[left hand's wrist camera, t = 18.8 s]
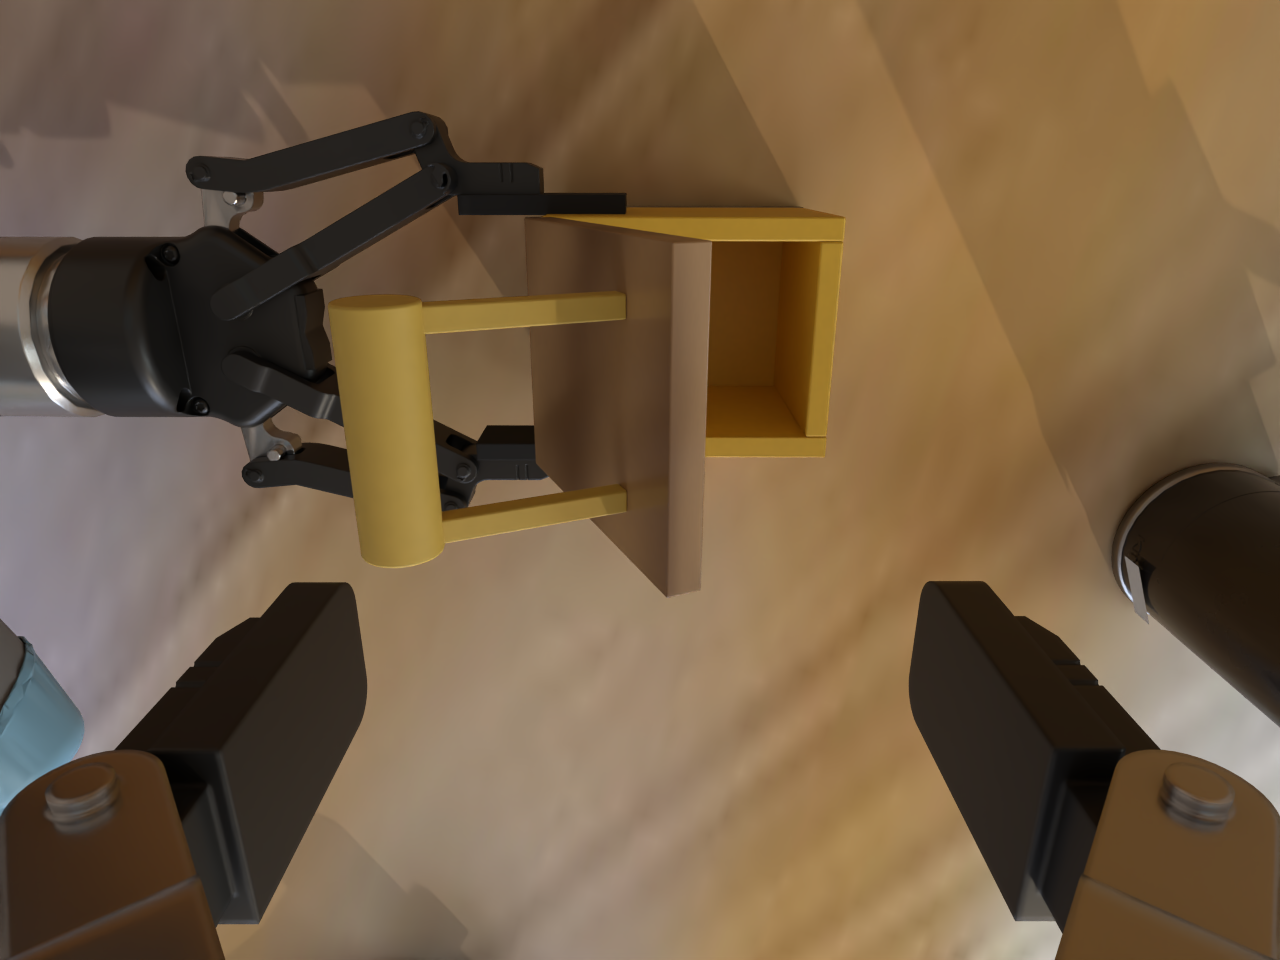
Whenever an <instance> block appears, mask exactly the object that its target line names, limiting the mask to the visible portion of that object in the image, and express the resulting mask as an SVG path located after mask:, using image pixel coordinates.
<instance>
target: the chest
mask: <svg viewBox="0 0 1280 960" xmlns="http://www.w3.org/2000/svg"><path fill="white" fill-rule="evenodd" d="M542 217H556V218H562V219H569V220H576V221H583V222H589V223H596V224H603V225H610V226H616V227H623V228H630V229H637V230H643V231H650V232H657V233H664V234H670V235H677V236H684V237H691V238H697V239H704V240H710V241H712V258H711V289H710V319H709V350H708V381H707V411H706V442H705V457H825V449H826V434H827V423H828V412H829V400H830V389H831V378H832V367H833V355H834V344H835V333H836V321H837V310H838V299H839V288H840V276H841V265H842V254H843V242H841V241H843V240H844V232H845V221H846V219H845V217H842V216H837V215H833V214H828V213H824V212H819V211H814V210H810V209H805V208H803V207H673V206H626V214H547V215H544V216H542Z"/></svg>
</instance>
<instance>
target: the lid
mask: <svg viewBox="0 0 1280 960" xmlns="http://www.w3.org/2000/svg"><path fill="white" fill-rule="evenodd" d="M524 220H525V241H526V262H527V284H528V296H518V297H501V298H484V299H467V300H450V301H433V302H422V301H421V299H419V298H417V297H413V296H407V295H362V296H352V297H345V298H340V299H336V300H333V301H331V302H329V304H328V312H329V320H330V327H331V335H332V342H333V349H334V357H335V364H336V372H337V379H338V386H339V394H340V401H341V409H342V416H343V424H344V431H345V438H346V446H347V453H348V461H349V468H350V475H351V483H352V490H353V498H354V505H355V513H356V520H357V527H358V535H359V542H360V550H361V556H362V558H363V559H364V560H365V561H366V562H367V563H369V564H371V565H373V566H377V567H383V568H403V567H410V566H415V565H419V564H422V563H425V562H427V561H430V560H432V559H434V558H435V557H437V556H438V555H439V554H440V553H441V552H442V551H443V549H444V546H445V543H450V542H456V541H462V540H467V539H473V538H479V537H485V536H491V535H496V534H502V533H508V532H514V531H519V530H525V529H531V528H537V527H542V526H548V525H554V524H560V523H565V522H571V521H577V520H583V519H588V518H590V519H591V520H592V521H593V522H594V523H595V524H596V525H597V526H598V528H599V529H600V530H601V531H602V532H603V533H604V534H605V535H606V536H607V537H608V538H609V539H610V540H611V541H612V542H613V543H614V544H615V545H616V546H617V547H618V548H619V549H620V550H621V551H622V552H623V553H624V554H625V555H626V556H627V557H628V558H629V559H630V560H631V561H632V562H633V563H634V564H635V566H636V567H637V568H638V569H639V570H640V571H641V572H642V573H643V574H644V575H645V576H646V577H647V578H648V579H649V580H650V581H651V582H652V583H653V584H654V585H655V586H656V587H657V588H658V589H659V590H660V591H661V592H662V593H663V594H664V595H665V596H666V597H667V598H669V597H674V596H678V595H683V594H687V593H692V592H696V591H700V590H701V565H702V534H703V504H704V473H705V442H706V411H707V381H708V350H709V319H710V289H711V258H712V241H710V240H704V239H697V238H691V237H684V236H677V235H670V234H664V233H657V232H650V231H643V230H637V229H630V228H623V227H616V226H610V225H603V224H596V223H589V222H583V221H576V220H569V219H562V218H556V217H526V218H525V219H524ZM517 327H530V348H531V369H532V390H533V412H534V433H535V454H536V464H537V465H538V466H539V467H540V468H541V469H542V470H543V471H544V472H545V473H546V474H547V475H548V476H549V477H550V478H551V479H552V480H553V481H554V482H555V483H556V484H557V485H558V486H559V487H560V488H561V489H562V491H563V493H556V494H550V495H544V496H537V497H531V498H525V499H518V500H512V501H506V502H499V503H493V504H487V505H480V506H474V507H468V508H462V509H455V510H449V511H443V512H442V510H441V499H440V488H439V478H438V467H437V456H436V445H435V435H434V424H433V413H432V403H431V392H430V381H429V370H428V360H427V349H426V338H425V334H435V333H449V332H462V331H476V330H489V329H503V328H517Z"/></svg>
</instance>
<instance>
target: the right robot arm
mask: <svg viewBox="0 0 1280 960" xmlns="http://www.w3.org/2000/svg"><path fill="white" fill-rule="evenodd" d="M413 154H416V156H417V158H418V161H419V163H420V165H421V168H422V170H421V171H419V172H418V173H416V174H414V175H413V176H411V177H409V178H408V179H406V180H404V181H403V182H401V183H399V184H398V185H396V186H394V187H393V188H391V189H389V190H388V191H386V192H384V193H383V194H381V195H380V196H378V197H376V198H375V199H373V200H371V201H370V202H368V203H366V204H365V205H363V206H361V207H360V208H358V209H356V210H355V211H353V212H351V213H350V214H348V215H346V216H345V217H343V218H341V219H340V220H338V221H337V222H335V223H333V224H332V225H330V226H328V227H327V228H325V229H323V230H322V231H320V232H318V233H317V234H315V235H313V236H312V237H310V238H308V239H307V240H305V241H303V242H302V243H300V244H297V245H295V246H293V247H291V248H289V249H287V250H285V251H284V252H282V253H280V254H279V253H277V252H276V251H274V250H273V249H271V248H270V247H268V246H267V245H265V244H264V243H262V242H261V241H259V240H258V239H256V238H255V237H254V236H252V235H251V234H249V233H248V232H246V231H245V230H243V229H241V228H239V224H240V219H241V217H242V216H243V215H244V214H246V213H247V212H252V211H256V210H258V209H259V208H260V207H261V206H262V204H263V199H264V196H263V192H272V191H284V190H288V189H293V188H297V187H300V186H304V185H307V184H311V183H314V182H318V181H321V180H325V179H328V178H332V177H335V176H339V175H342V174H346V173H349V172H353V171H356V170H360V169H363V168H367V167H370V166H374V165H377V164H381V163H384V162H388V161H392V160H395V159H399V158H402V157H406V156H409V155H413ZM186 174H187V178H188V179H189V180H190V182H191V183H192V184H193V185H194V186H196V187H197V188H201V193H202V204H203V215H204V226H205V227H202V228H200V229H198V230H197V231H195V232H194V233H192V234H191V235H188V236H186V237H92V238H87V239H85V240H81V239H78V238H75V237H0V416H41V417H97V416H100V415H104V414H107V415H110V416H115V417H215V418H219V419H222V420H224V421H227V422H229V423H231V424H233V425H235V426H238V427H241V429H242V433H243V436H244V440H245V443H246V447H247V450H248V454H249V458H250V462H249V463H248V464H247V465H245V466H244V467H243V470H242V477H243V479H244V481H245V482H246V483H247V484H248V485H249V486H251V487H254V488H265V487H276V486H287V485H299V486H304V487H308V488H312V489H317V490H321V491H325V492H329V493H334V494H338V495H342V496H347V497H351V498H353V490H352V483H351V475H350V468H349V461H348V453H347V449H344V448H339V447H335V446H331V445H326V444H320V443H301V438H300V436H299V435H298V434H295V433H294V434H293V433H291V432H285V431H282V430H279V429H278V428H277V427H275V425H274V424H273V422H272V420H271V418H272V417H273V416H274V415H276V414H277V413H278V412H280V411H281V410H282V409H283V408H285V407H286V406H287V405H288V406H290V407H292V408H294V409H296V410H298V411H300V412H302V413H304V414H306V415H308V416H311V417H314V418H323V419H328V420H330V421H332V422H334V423H336V424H339V425H341V426H343V427H344V424H343V416H342V409H341V401H340V394H339V386H338V379H337V372H336V367H335V366H333V365H330V364H328V362H329V361H331V360H332V355H331V348H330V342H329V340H328V337H327V335H326V332H325V330H324V327H323V317H324V309H325V304H324V297H323V290H322V289H317V286H316V284H315V283H314V280H316V279H318V278H319V277H321V276H323V275H324V274H326V273H328V272H329V271H331V270H333V269H334V268H336V267H337V266H339V265H340V264H341V263H343V262H344V261H346V260H348V259H349V258H351V257H353V256H354V255H356V254H358V253H359V252H361V251H363V250H364V249H366V248H368V247H370V246H371V245H373V244H375V243H376V242H378V241H380V240H381V239H383V238H385V237H386V236H388V235H390V234H391V233H393V232H395V231H397V230H398V229H400V228H402V227H403V226H405V225H407V224H408V223H410V222H412V221H413V220H415V219H417V218H418V217H420V216H422V215H423V214H425V213H427V212H429V211H430V210H432V209H434V208H435V207H437V206H439V205H440V204H442V203H444V202H445V201H447V200H449V199H450V198H452V197H454V196H455V195H457V197H458V210H459V215H547V214H626V193H544V180H543V168H541V167H539V166H536V165H534V164H532V163H469V162H466V161H464V160H462V159H461V158H460V157H459V156H458V155H457V154H456V152H455V150H454V148H453V146H452V143H451V141H450V139H449V136H448V128H447V126H446V124H445V122H444V121H443V120H442V119H441V118H439V117H436V116H434V115H430V114H427V113H423V112H419V111H417V112H410V113H407V114H403V115H400V116H396V117H393V118H389V119H386V120H383V121H379V122H376V123H372V124H369V125H365V126H362V127H358V128H355V129H351V130H348V131H345V132H341V133H338V134H334V135H331V136H327V137H324V138H320V139H317V140H313V141H310V142H307V143H303V144H300V145H296V146H293V147H289V148H286V149H282V150H279V151H275V152H272V153H269V154H265V155H262V156H258V157H255V158H251V159H242V158H233V157H212V156H195V157H193V158H191V159H190V160H189V161H188V163H187V164H186ZM433 424H434V435H435V445H436V456H437V467H438V478H439V488H440V499H441V510H442V512H443V511H449V510H455V509H462V508H468V506H469V504H470V502H471V500H472V498H473V496H474V494H475V489H476V486H477V484H478V483H479V482H481V481H484V480H542V479H544V478H547V477H549V476H548V475H547V474H546V473H545V472H544V471H543V470H542V469H541V468H540V467H539V466H538V465H537V464H536V454H535V433H534V426H509V425H487V426H486V428H485V430H484V431H483V433H482V435H481V436H480V438H479V440H478V441H476V440H474V439H472V438H470V437H468V436H466V435H464V434H461V433H459V432H457V431H455V430H453V429H451V428H449V427H447V426H445V425H443V424H441V423H439V422H437V421H435V420H433ZM83 735H84V721H83V718H82V716H81V713H80V711H79V710H78V708H77V707H76V706H75V704H74V703H73V702H72V701H71V699H70V698H69V697H68V695H67V694H66V693H65V691H64V690H63V689H62V687H61V686H60V685H59V683H58V682H57V681H56V679H55V678H54V677H53V675H52V674H51V673H50V671H49V670H48V669H47V667H46V666H45V665H44V664H43V662H42V661H41V660H40V658H39V657H38V656H37V654H36V653H35V651H34V649H33V646H32V644H31V643H29V642H28V641H27V640H26V638H25V637H23V636H16V635H15V634H14V633H13V632H12V631H11V630H10V628H9V627H8V626H7V625H6V624H5V623H4V622H3V621H2V620H1V619H0V816H1V814H2V812H3V810H4V809H5V807H6V806H7V805H8V803H9V802H10V801H11V800H12V799H13V798H14V797H15V796H16V795H17V794H18V793H19V792H20V791H21V790H23V789H24V788H25V787H26V786H27V785H29V784H30V783H32V782H33V781H35V780H36V779H37V778H39V777H41V776H42V775H44V774H46V773H48V772H49V771H51V770H53V769H55V768H57V767H59V766H62V765H64V764H66V763H68V762H70V761H71V759H72V758H73V757H74V755H75V754H76V753H77V751H78V749H79V747H80V745H81V742H82V739H83Z"/></svg>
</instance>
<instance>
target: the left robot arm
mask: <svg viewBox="0 0 1280 960" xmlns="http://www.w3.org/2000/svg"><path fill="white" fill-rule="evenodd" d="M1112 568H1113V573H1114V576H1115V579H1116V581H1117V583H1118V586H1119V587H1120V589H1121V590H1122V592H1123V593H1124V594H1125V595H1126V597H1128V598H1129V599H1130V600H1131V601H1132V602H1133V604H1134V609H1135V612H1136V613H1137V614H1138V615H1139V616H1140V617H1141V618H1142V619H1143V620H1145V621H1146V622H1147V623H1148V624H1149V622H1148V616H1147V613H1148V614H1149V615H1151V616H1152V617H1153V618H1154V619H1155V620H1157V621H1158V622H1159V623H1160V624H1161V625H1162V626H1164V627H1165V628H1166V629H1167V630H1168V631H1169V632H1170V633H1171V634H1172V635H1174V636H1175V637H1176V638H1177V639H1178V640H1179V641H1180V642H1182V643H1183V644H1184V645H1185V646H1186V647H1187V648H1189V649H1190V650H1191V651H1192V652H1193V653H1194V654H1196V655H1197V656H1198V657H1199V658H1200V659H1201V660H1202V661H1204V662H1205V663H1206V664H1207V665H1208V666H1209V667H1211V668H1212V669H1213V670H1214V671H1215V672H1216V673H1218V674H1219V675H1220V676H1221V677H1222V678H1223V679H1224V680H1226V681H1227V682H1228V683H1229V684H1230V685H1231V686H1233V687H1234V688H1235V689H1236V690H1237V691H1238V692H1239V693H1241V694H1242V695H1243V696H1244V697H1245V698H1246V699H1248V700H1249V701H1250V702H1251V703H1252V704H1253V705H1255V706H1256V707H1257V708H1258V709H1259V710H1260V711H1261V712H1263V713H1264V714H1265V715H1266V716H1267V717H1268V718H1270V719H1271V720H1272V721H1273V722H1274V723H1275V724H1276V725H1278V726H1279V727H1280V476H1275V477H1266V476H1264V475H1262V474H1260V473H1258V472H1256V471H1254V470H1251V469H1249V468H1246V467H1243V466H1240V465H1235V464H1228V463H1211V464H1203V465H1198V466H1194V467H1190V468H1187V469H1184V470H1181V471H1179V472H1176V473H1174V474H1172V475H1170V476H1168V477H1166V478H1164V479H1163V480H1161V481H1160V482H1158V483H1157V484H1155V485H1154V486H1152V487H1151V488H1150V489H1149V490H1147V491H1146V492H1145V493H1144V494H1143V495H1142V496H1141V497H1140V498H1139V499H1138V500H1137V501H1136V502H1135V503H1134V504H1133V505H1132V507H1131V508H1130V509H1129V511H1128V512H1127V513H1126V515H1125V517H1124V518H1123V520H1122V522H1121V524H1120V526H1119V528H1118V530H1117V533H1116V535H1115V539H1114V543H1113V548H1112ZM366 698H367V676H366V669H365V662H364V655H363V648H362V641H361V634H360V627H359V620H358V613H357V606H356V600H355V595H354V592H353V589H352V587H351V586H350V585H349V584H348V583H346V582H295V583H291V584H289V585H288V586H287V587H286V588H285V589H284V591H283V592H282V593H281V594H280V595H279V596H278V598H277V599H276V600H275V601H274V602H273V603H272V605H271V606H270V607H269V608H268V609H267V610H266V612H265V613H264V614H263V615H262V616H261V617H260V618H249V619H247V620H245V621H244V622H242V623H240V624H239V625H237V626H236V627H234V628H232V629H231V630H229V631H227V632H226V633H224V634H222V635H221V636H219V637H217V638H216V639H215V640H214V641H213V642H212V643H211V644H210V646H209V647H208V648H207V649H206V650H205V651H204V652H203V653H202V654H201V655H200V657H199V658H198V659H197V660H196V661H195V662H194V667H189V669H188V670H187V671H186V672H185V673H184V674H183V675H182V676H181V677H180V678H179V680H178V681H177V682H176V687H171V688H170V689H169V691H168V692H167V693H166V694H165V695H164V696H163V697H162V698H161V699H160V700H159V701H158V703H157V704H156V705H155V706H154V707H153V708H152V709H151V710H150V711H149V712H148V714H147V715H146V716H145V717H144V718H143V719H142V720H141V721H140V722H139V723H138V725H137V726H136V727H135V728H134V729H133V730H132V731H131V732H130V733H129V734H128V735H127V737H126V738H125V739H124V740H123V741H122V742H121V743H120V744H119V745H118V746H117V748H116V749H115V750H113V751H105V752H101V753H96V754H92V755H89V756H85V757H82V758H79V759H76V760H74V761H71V762H68V763H66V764H64V765H62V766H59V767H57V768H55V769H53V770H51V771H49V772H48V773H46V774H44V775H42V776H41V777H39V778H37V779H36V780H35V781H33V782H32V783H30V784H29V785H27V786H26V787H25V788H24V789H23V790H21V791H20V792H19V793H18V794H17V795H16V796H15V797H14V798H13V799H12V800H11V801H10V802H9V803H8V805H7V806H6V807H5V809H4V810H3V812H2V814H1V816H0V960H225V958H224V954H223V951H222V948H221V944H220V941H219V938H218V935H217V931H216V927H217V925H218V924H259V922H260V920H261V918H262V916H263V914H264V912H265V910H266V908H267V906H268V904H269V903H270V901H271V899H272V897H273V895H274V893H275V891H276V889H277V887H278V885H279V883H280V881H281V879H282V877H283V875H284V873H285V871H286V869H287V867H288V865H289V863H290V861H291V859H292V857H293V855H294V853H295V851H296V849H297V847H298V845H299V843H300V842H301V840H302V838H303V836H304V834H305V832H306V830H307V828H308V826H309V824H310V822H311V820H312V818H313V816H314V814H315V812H316V810H317V808H318V806H319V804H320V802H321V800H322V798H323V796H324V794H325V792H326V790H327V788H328V786H329V784H330V782H331V781H332V779H333V777H334V775H335V773H336V771H337V769H338V767H339V765H340V763H341V761H342V759H343V757H344V755H345V753H346V751H347V749H348V747H349V745H350V743H351V741H352V739H353V737H354V735H355V733H356V731H357V729H358V727H359V725H360V723H361V721H362V718H363V714H364V710H365V705H366ZM909 698H910V704H911V710H912V713H913V717H914V720H915V722H916V724H917V726H918V728H919V730H920V732H921V734H922V736H923V738H924V740H925V742H926V744H927V746H928V748H929V750H930V752H931V754H932V756H933V758H934V760H935V762H936V764H937V766H938V768H939V770H940V772H941V774H942V776H943V778H944V780H945V782H946V784H947V786H948V788H949V790H950V792H951V794H952V796H953V798H954V800H955V802H956V804H957V806H958V808H959V810H960V812H961V814H962V816H963V818H964V820H965V822H966V824H967V826H968V828H969V830H970V832H971V834H972V836H973V838H974V840H975V842H976V844H977V846H978V848H979V850H980V852H981V854H982V856H983V858H984V860H985V862H986V864H987V866H988V868H989V870H990V872H991V874H992V876H993V878H994V880H995V882H996V884H997V886H998V888H999V890H1000V892H1001V894H1002V896H1003V898H1004V900H1005V902H1006V904H1007V905H1008V907H1009V909H1010V911H1011V913H1012V915H1013V917H1014V919H1015V921H1056V923H1057V925H1058V926H1059V928H1060V930H1061V932H1062V934H1063V935H1062V938H1061V941H1060V944H1059V948H1058V951H1057V954H1056V957H1055V960H1280V816H1279V814H1278V812H1277V810H1276V809H1275V807H1274V806H1273V805H1272V803H1271V802H1270V801H1269V800H1268V799H1267V798H1266V797H1265V796H1264V795H1263V794H1262V793H1261V792H1260V791H1259V790H1257V789H1256V788H1255V787H1254V786H1253V785H1251V784H1250V783H1248V782H1247V781H1245V780H1244V779H1243V778H1241V777H1239V776H1238V775H1236V774H1234V773H1232V772H1231V771H1229V770H1227V769H1225V768H1223V767H1221V766H1218V765H1216V764H1214V763H1212V762H1209V761H1206V760H1204V759H1201V758H1198V757H1195V756H1191V755H1188V754H1184V753H1179V752H1175V751H1167V750H1161V749H1160V748H1159V747H1158V746H1157V745H1156V744H1155V743H1154V742H1153V741H1152V739H1151V738H1150V737H1149V736H1148V735H1147V734H1146V733H1145V732H1144V731H1143V730H1142V728H1141V727H1140V726H1139V725H1138V724H1137V723H1136V722H1135V721H1134V720H1133V718H1132V717H1131V716H1130V715H1129V714H1128V713H1127V712H1126V711H1125V710H1124V708H1123V707H1122V706H1121V705H1120V704H1119V703H1118V702H1117V701H1116V700H1115V699H1114V697H1113V696H1112V695H1111V694H1110V693H1109V692H1108V691H1107V690H1106V689H1105V687H1104V686H1099V685H1098V680H1097V679H1096V678H1095V676H1094V675H1093V674H1092V673H1091V672H1090V671H1089V670H1088V669H1087V668H1086V666H1085V665H1080V660H1079V659H1078V658H1077V656H1076V655H1075V654H1074V653H1073V652H1072V651H1071V650H1070V649H1069V648H1068V647H1067V645H1066V644H1065V643H1064V642H1063V641H1062V640H1061V639H1060V638H1059V637H1058V636H1057V635H1055V634H1053V633H1052V632H1050V631H1048V630H1047V629H1045V628H1044V627H1042V626H1040V625H1039V624H1037V623H1035V622H1034V621H1032V620H1030V619H1029V618H1027V617H1025V616H1014V615H1013V614H1012V613H1011V611H1010V610H1009V609H1008V608H1007V607H1006V606H1005V604H1004V603H1003V602H1002V601H1001V600H1000V598H999V597H998V596H997V595H996V594H995V593H994V591H993V590H992V589H991V588H990V587H989V586H988V585H987V584H986V583H985V582H983V581H929V582H927V583H926V584H925V585H924V587H923V589H922V593H921V597H920V603H919V610H918V617H917V624H916V631H915V638H914V645H913V652H912V659H911V667H910V674H909Z"/></svg>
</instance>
